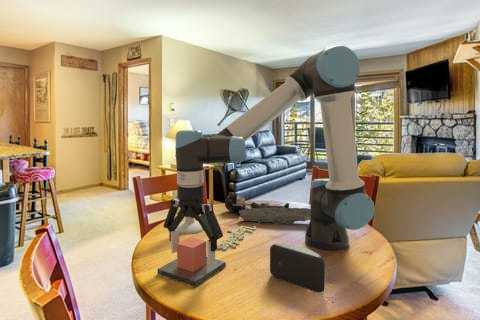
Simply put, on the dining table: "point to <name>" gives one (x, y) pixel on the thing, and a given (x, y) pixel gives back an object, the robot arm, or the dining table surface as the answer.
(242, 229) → the decorative sign
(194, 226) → the candlestick
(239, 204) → the figurine
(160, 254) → the dining table surface
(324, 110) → the robot arm
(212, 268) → the gray slab
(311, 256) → the leaning round-cornered charcoal block
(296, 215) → the stone fragment
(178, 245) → the salmon pink cube
